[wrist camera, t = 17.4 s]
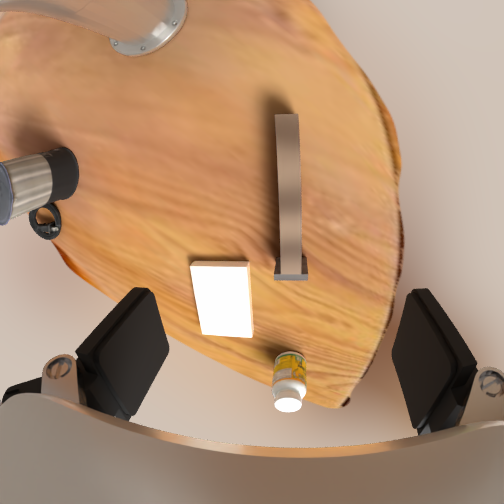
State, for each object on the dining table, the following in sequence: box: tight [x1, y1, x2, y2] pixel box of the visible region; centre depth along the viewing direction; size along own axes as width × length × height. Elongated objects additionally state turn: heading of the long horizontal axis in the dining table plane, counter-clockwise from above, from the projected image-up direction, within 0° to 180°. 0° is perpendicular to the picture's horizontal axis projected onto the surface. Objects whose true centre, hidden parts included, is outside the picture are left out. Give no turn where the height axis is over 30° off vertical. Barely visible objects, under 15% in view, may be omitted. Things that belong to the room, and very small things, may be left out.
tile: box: [190, 261, 254, 338], centre depth 40 cm, size 2×8×12 cm
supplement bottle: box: [272, 351, 306, 412], centre depth 39 cm, size 5×5×10 cm
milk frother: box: [0, 147, 79, 240], centre depth 31 cm, size 14×16×15 cm
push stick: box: [274, 114, 308, 280], centre depth 31 cm, size 19×4×5 cm, turn 3°
